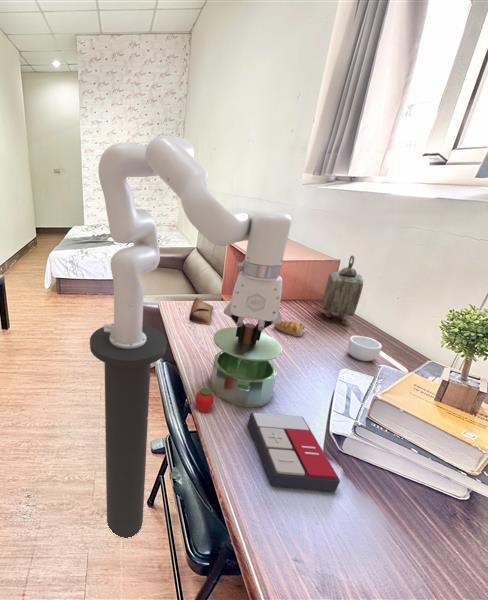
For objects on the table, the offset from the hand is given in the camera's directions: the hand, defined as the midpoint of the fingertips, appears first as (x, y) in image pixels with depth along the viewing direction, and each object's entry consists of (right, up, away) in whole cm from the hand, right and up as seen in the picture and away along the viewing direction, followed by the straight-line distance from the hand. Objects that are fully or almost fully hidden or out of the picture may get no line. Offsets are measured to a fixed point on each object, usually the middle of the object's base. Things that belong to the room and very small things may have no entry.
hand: (246, 340), depth 76 cm
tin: (0, -13, +5) cm, 14 cm away
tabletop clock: (+54, +3, +45) cm, 70 cm away
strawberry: (-11, -16, -2) cm, 20 cm away
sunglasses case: (+3, +4, +49) cm, 49 cm away
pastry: (+31, -1, +35) cm, 46 cm away
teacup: (+44, -7, +20) cm, 48 cm away
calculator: (+2, -21, -14) cm, 26 cm away
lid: (0, -1, 0) cm, 1 cm away
